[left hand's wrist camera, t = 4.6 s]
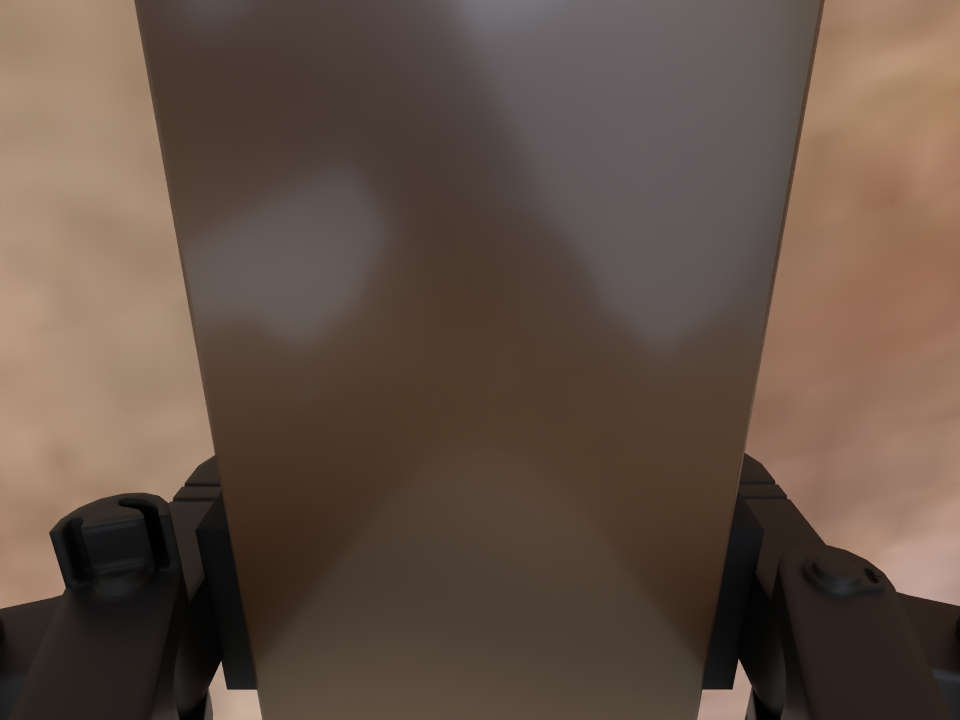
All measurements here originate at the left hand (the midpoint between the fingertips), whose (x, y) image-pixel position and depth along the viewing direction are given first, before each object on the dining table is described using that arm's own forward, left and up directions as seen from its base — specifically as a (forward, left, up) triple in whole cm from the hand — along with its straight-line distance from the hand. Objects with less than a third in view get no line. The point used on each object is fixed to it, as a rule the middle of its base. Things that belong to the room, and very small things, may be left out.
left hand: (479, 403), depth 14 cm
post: (-35, +7, -1) cm, 36 cm away
